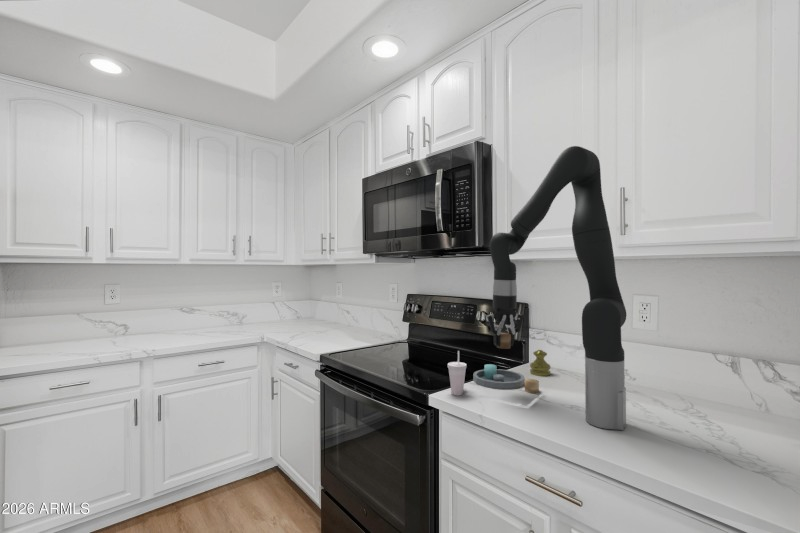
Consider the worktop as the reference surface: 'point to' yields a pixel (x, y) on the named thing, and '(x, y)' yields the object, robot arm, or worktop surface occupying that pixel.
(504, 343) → the walnut bead
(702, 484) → the worktop surface
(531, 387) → the oak bead
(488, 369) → the teal bead
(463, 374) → the smoothie
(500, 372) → the ring tray
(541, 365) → the olive chess piece
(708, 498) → the worktop surface
